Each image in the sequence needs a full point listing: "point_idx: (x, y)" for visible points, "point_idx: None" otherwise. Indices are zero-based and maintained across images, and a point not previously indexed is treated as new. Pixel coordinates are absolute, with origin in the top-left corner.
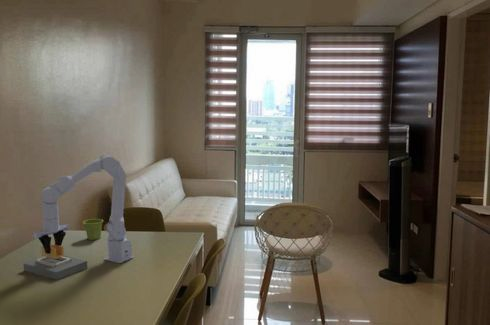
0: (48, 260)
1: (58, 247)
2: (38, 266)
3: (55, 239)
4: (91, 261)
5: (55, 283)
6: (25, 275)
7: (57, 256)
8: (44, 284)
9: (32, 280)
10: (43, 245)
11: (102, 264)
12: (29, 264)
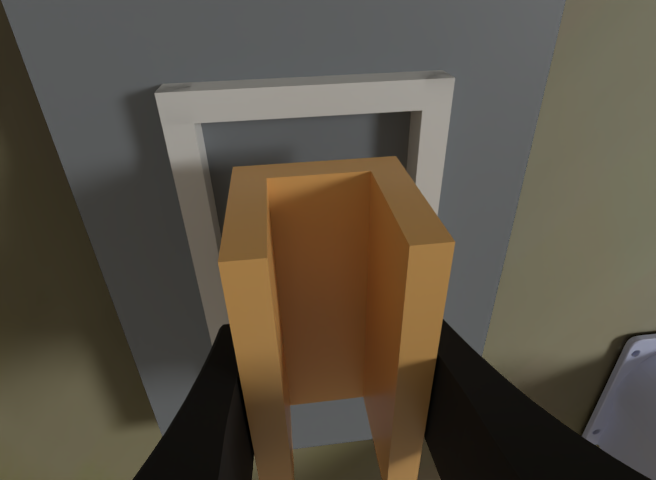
0: None
1: (383, 436)
2: (118, 256)
3: (484, 458)
4: (577, 295)
5: (149, 440)
6: (10, 133)
7: (301, 400)
8: (84, 414)
9: (33, 301)
10: (174, 439)
11: (539, 388)
12: (49, 93)
